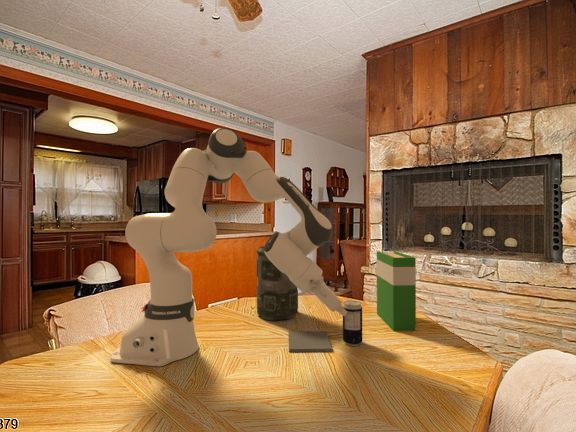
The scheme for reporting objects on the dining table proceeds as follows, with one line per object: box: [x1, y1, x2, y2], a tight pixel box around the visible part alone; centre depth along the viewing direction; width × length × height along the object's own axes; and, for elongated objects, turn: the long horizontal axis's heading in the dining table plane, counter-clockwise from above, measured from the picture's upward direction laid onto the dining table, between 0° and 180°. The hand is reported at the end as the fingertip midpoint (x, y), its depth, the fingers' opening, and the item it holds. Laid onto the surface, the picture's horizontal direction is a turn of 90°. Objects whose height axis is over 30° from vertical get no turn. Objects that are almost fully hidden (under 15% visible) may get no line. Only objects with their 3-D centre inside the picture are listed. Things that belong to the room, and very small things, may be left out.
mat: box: [287, 330, 333, 353], centre depth 94 cm, size 12×13×1 cm
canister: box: [256, 245, 299, 321], centre depth 119 cm, size 16×16×28 cm
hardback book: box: [376, 250, 417, 332], centre depth 111 cm, size 18×7×24 cm, turn 1°
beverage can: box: [342, 300, 363, 347], centre depth 93 cm, size 6×6×12 cm
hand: (340, 308), depth 94 cm, fingers open, 8 cm apart
